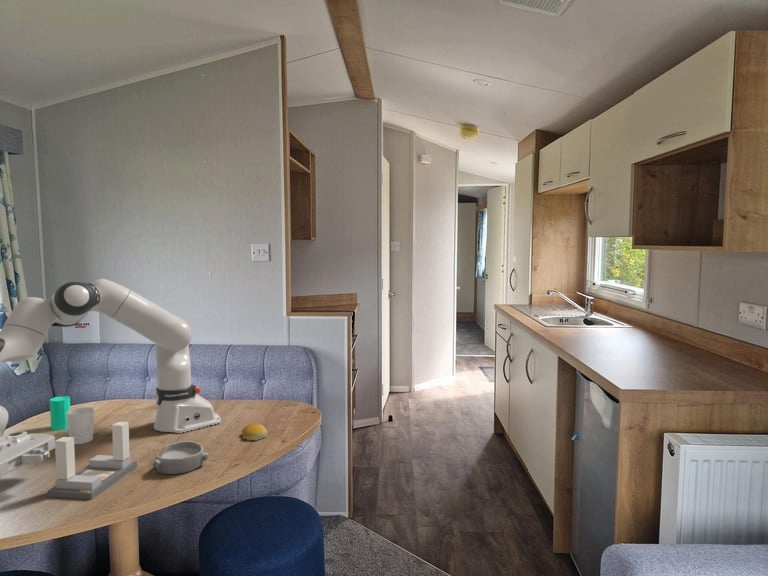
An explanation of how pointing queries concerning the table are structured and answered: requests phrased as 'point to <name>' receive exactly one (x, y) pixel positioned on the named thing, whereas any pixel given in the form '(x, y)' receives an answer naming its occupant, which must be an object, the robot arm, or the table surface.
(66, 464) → the front knob
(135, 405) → the table surface
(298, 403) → the table surface
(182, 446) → the dish
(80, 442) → the white cup
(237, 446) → the table surface
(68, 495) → the switch box
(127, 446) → the rear knob
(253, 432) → the bread roll
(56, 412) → the candle
